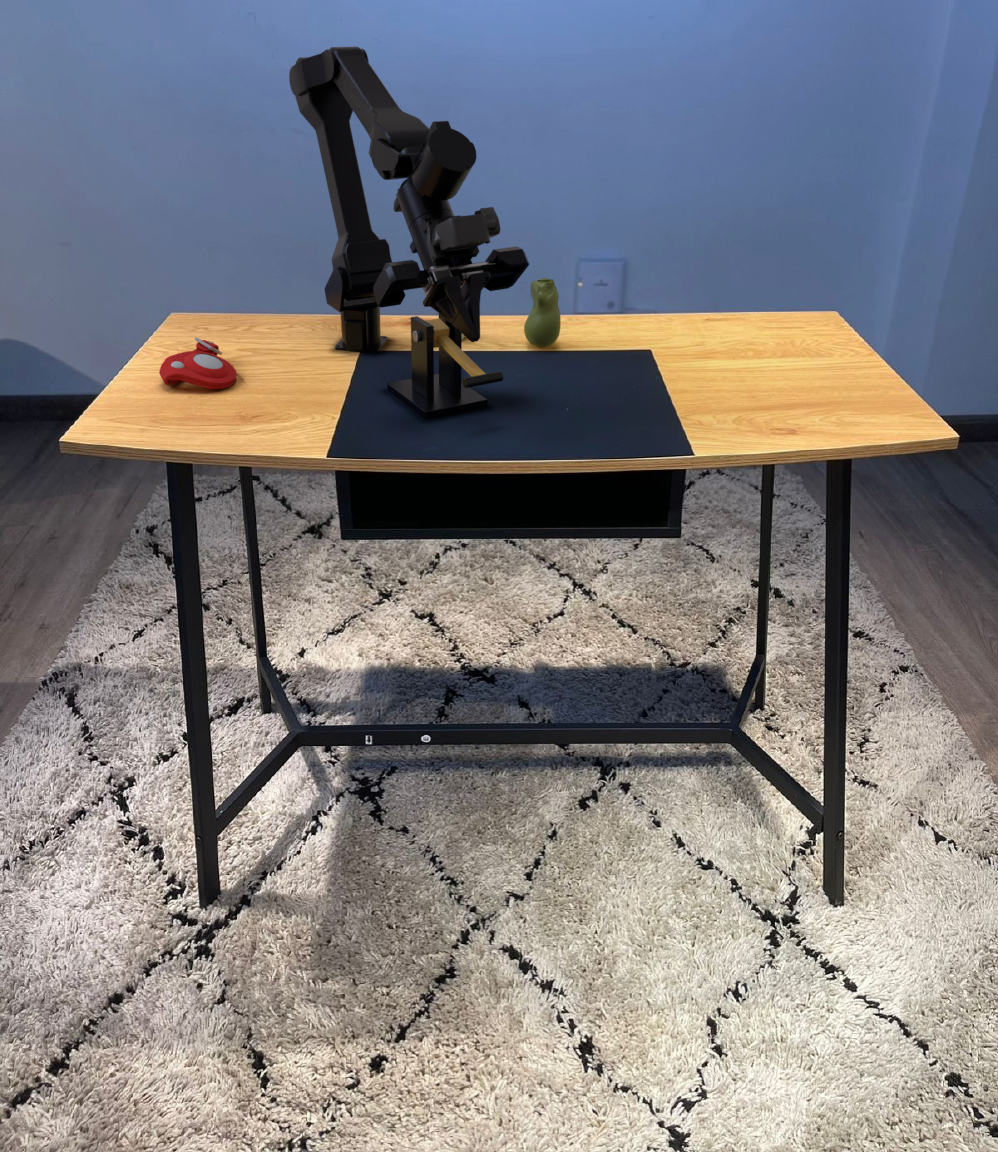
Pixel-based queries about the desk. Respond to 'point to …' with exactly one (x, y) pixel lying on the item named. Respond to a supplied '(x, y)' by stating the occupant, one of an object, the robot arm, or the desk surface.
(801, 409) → the desk surface
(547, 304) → the green vase
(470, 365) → the latch lever
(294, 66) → the robot arm
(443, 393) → the latch bracket
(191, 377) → the tracker holder
